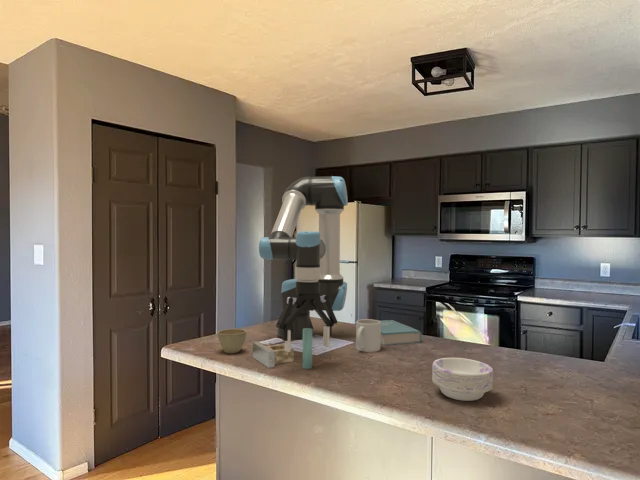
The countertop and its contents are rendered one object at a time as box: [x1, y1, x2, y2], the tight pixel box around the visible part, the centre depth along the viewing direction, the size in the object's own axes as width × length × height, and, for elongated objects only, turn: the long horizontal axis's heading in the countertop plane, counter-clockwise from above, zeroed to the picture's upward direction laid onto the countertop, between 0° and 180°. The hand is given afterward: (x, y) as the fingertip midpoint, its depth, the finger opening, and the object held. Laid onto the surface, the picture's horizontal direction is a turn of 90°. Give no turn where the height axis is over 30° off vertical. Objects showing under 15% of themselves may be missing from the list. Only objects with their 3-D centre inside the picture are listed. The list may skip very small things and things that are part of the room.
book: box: [379, 319, 423, 346], centre depth 185 cm, size 23×16×5 cm
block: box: [266, 343, 295, 365], centre depth 151 cm, size 8×8×4 cm
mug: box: [355, 318, 382, 353], centre depth 165 cm, size 11×10×10 cm
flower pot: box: [217, 328, 247, 354], centre depth 161 cm, size 10×10×7 cm
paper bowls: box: [431, 357, 494, 402], centre depth 119 cm, size 15×15×8 cm
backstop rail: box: [252, 341, 276, 369], centre depth 148 cm, size 2×14×5 cm, turn 29°
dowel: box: [302, 328, 313, 370], centre depth 142 cm, size 3×3×12 cm
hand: (307, 348), depth 142 cm, fingers open, 13 cm apart
